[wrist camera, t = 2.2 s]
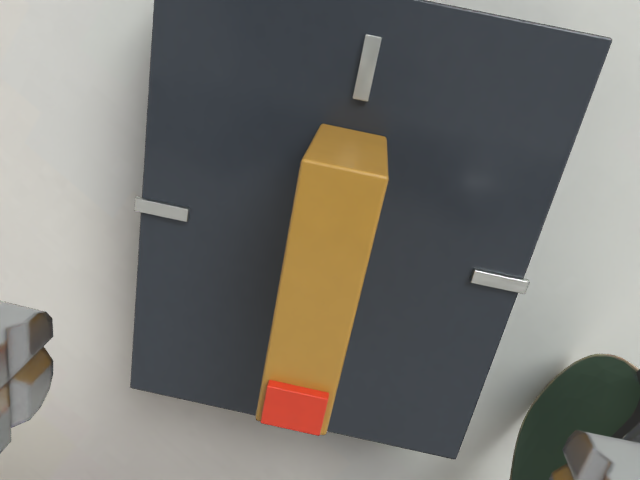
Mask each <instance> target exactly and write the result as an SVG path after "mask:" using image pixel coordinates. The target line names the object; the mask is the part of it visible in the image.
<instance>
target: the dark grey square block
mask: <svg viewBox="0 0 640 480" xmlns="http://www.w3.org/2000/svg"><path fill="white" fill-rule="evenodd" d="M611 43H612V39H611V38H609V37H604V36H599V35H594V34H589V33H584V32H579V31H574V30H570V29H565V28H560V27H555V26H550V25H545V24H540V23H535V22H530V21H525V20H520V19H515V18H510V17H505V16H500V15H495V14H490V13H485V12H481V11H476V10H471V9H466V8H461V7H456V6H451V5H446V4H441V3H436V2H431V1H426V0H154V12H153V28H152V45H151V61H150V77H149V93H148V109H147V125H146V141H145V158H144V174H143V190H142V197H136V198H135V211H138V212H141V222H140V238H139V255H138V271H137V287H136V303H135V319H134V335H133V351H132V368H131V384H130V387H131V388H134V389H138V390H143V391H147V392H152V393H156V394H161V395H165V396H170V397H174V398H179V399H183V400H188V401H192V402H197V403H202V404H206V405H211V406H215V407H220V408H224V409H229V410H233V411H238V412H242V413H247V414H251V415H256V411H257V405H258V400H259V394H260V388H261V383H262V377H263V371H264V366H265V360H266V354H267V349H268V343H269V337H270V332H271V326H272V321H273V315H274V309H275V304H276V298H277V292H278V287H279V281H280V275H281V270H282V264H283V258H284V253H285V247H286V242H287V236H288V230H289V225H290V219H291V213H292V208H293V202H294V196H295V191H296V185H297V179H298V174H299V168H300V163H301V160H302V158H303V156H304V154H305V153H306V151H307V149H308V147H309V145H310V143H311V142H312V140H313V138H314V136H315V134H316V132H317V131H318V129H319V127H320V125H321V124H327V125H332V126H337V127H342V128H346V129H351V130H356V131H361V132H366V133H370V134H375V135H380V136H384V137H386V139H387V155H388V176H389V181H388V185H387V189H386V193H385V197H384V201H383V205H382V209H381V213H380V217H379V221H378V225H377V230H376V234H375V238H374V242H373V246H372V250H371V254H370V258H369V262H368V266H367V270H366V274H365V278H364V283H363V287H362V291H361V295H360V299H359V303H358V307H357V311H356V315H355V319H354V323H353V327H352V331H351V336H350V340H349V344H348V348H347V352H346V356H345V360H344V364H343V368H342V372H341V376H340V380H339V384H338V388H337V393H336V397H335V401H334V405H333V409H332V413H331V417H330V421H329V425H328V429H327V431H328V432H333V433H337V434H342V435H346V436H351V437H355V438H360V439H365V440H369V441H374V442H378V443H383V444H387V445H392V446H396V447H401V448H405V449H410V450H414V451H419V452H423V453H428V454H432V455H437V456H441V457H446V458H451V459H456V457H457V455H458V452H459V449H460V447H461V444H462V441H463V439H464V436H465V433H466V431H467V428H468V425H469V423H470V420H471V417H472V415H473V412H474V409H475V407H476V404H477V401H478V399H479V396H480V393H481V391H482V388H483V385H484V383H485V380H486V377H487V375H488V372H489V369H490V366H491V364H492V361H493V358H494V356H495V353H496V350H497V348H498V345H499V342H500V340H501V337H502V334H503V332H504V329H505V326H506V324H507V321H508V318H509V316H510V313H511V310H512V308H513V305H514V302H515V300H516V297H517V294H518V293H522V294H525V293H526V290H527V287H528V285H529V281H528V279H523V278H524V275H525V273H526V270H527V267H528V265H529V262H530V259H531V257H532V254H533V251H534V249H535V246H536V243H537V241H538V238H539V235H540V233H541V230H542V227H543V225H544V222H545V219H546V217H547V214H548V211H549V209H550V206H551V203H552V200H553V198H554V195H555V192H556V190H557V187H558V184H559V182H560V179H561V176H562V174H563V171H564V168H565V166H566V163H567V160H568V158H569V155H570V152H571V150H572V147H573V144H574V142H575V139H576V136H577V134H578V131H579V128H580V126H581V123H582V120H583V118H584V115H585V112H586V109H587V107H588V104H589V101H590V99H591V96H592V93H593V91H594V88H595V85H596V83H597V80H598V77H599V75H600V72H601V69H602V67H603V64H604V61H605V59H606V56H607V53H608V51H609V48H610V45H611Z"/></svg>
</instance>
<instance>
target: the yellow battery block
mask: <svg viewBox="0 0 640 480" xmlns="http://www.w3.org/2000/svg"><path fill="white" fill-rule="evenodd" d="M388 181H389V176H388V155H387V139H386V137H384V136H380V135H375V134H370V133H366V132H361V131H356V130H351V129H346V128H342V127H337V126H332V125H327V124H321V125H320V127H319V129H318V131H317V132H316V134H315V136H314V138H313V140H312V142H311V143H310V145H309V147H308V149H307V151H306V153H305V154H304V156H303V158H302V160H301V163H300V168H299V174H298V179H297V185H296V191H295V196H294V202H293V208H292V213H291V219H290V225H289V230H288V236H287V242H286V247H285V253H284V258H283V264H282V270H281V275H280V281H279V287H278V292H277V298H276V304H275V309H274V315H273V321H272V326H271V332H270V337H269V343H268V349H267V354H266V360H265V366H264V371H263V377H262V383H261V388H260V394H259V400H258V405H257V411H256V420H257V421H261V423H263V424H268V425H272V426H277V427H281V428H286V429H290V430H295V431H299V432H304V433H308V434H313V435H317V436H319V435H325V434H326V433H327V429H328V425H329V421H330V417H331V413H332V409H333V405H334V401H335V397H336V393H337V388H338V384H339V380H340V376H341V372H342V368H343V364H344V360H345V356H346V352H347V348H348V344H349V340H350V336H351V331H352V327H353V323H354V319H355V315H356V311H357V307H358V303H359V299H360V295H361V291H362V287H363V283H364V278H365V274H366V270H367V266H368V262H369V258H370V254H371V250H372V246H373V242H374V238H375V234H376V230H377V225H378V221H379V217H380V213H381V209H382V205H383V201H384V197H385V193H386V189H387V185H388Z"/></svg>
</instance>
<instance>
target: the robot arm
mask: <svg viewBox="0 0 640 480" xmlns="http://www.w3.org/2000/svg"><path fill="white" fill-rule="evenodd" d="M52 337H53V325H52V318H51V317H50V315H49V314H48V313H47V312H44V311H40V310H36V309H32V308H28V307H24V306H20V305H16V304H12V303H8V302H3V301H0V453H1V452H2V451H3V450H4V449H5V448H6V447H7V445H8V444H9V443H10V442H11V428H12V427H15V426H17V425H19V424H22V423H24V422H26V421H29V420H30V419H31V418H32V417H33V416H34V414H35V413H36V412H37V411H38V410H39V408H40V407H41V406H42V404H43V402H44V399H45V397H46V395H47V393H48V391H49V389H50V385H51V381H52V376H53V360H52V358H51V357H50V355H49V354H48V352H47V351H46V349H45V348H44V345H45V344H46V343H47V342H48V341H49V340H50V339H51V338H52ZM562 450H563V453H564V456H565V458H566V461H567V463H566V464H565V465H563V466H561V467H560V468H558V469H556V470H555V471H553V472H552V473H551V476H550V478H549V480H640V443H637V442H632V441H627V440H622V439H618V438H613V437H608V436H603V435H599V434H594V433H589V432H584V431H580V430H575V431H574V432H573V433H572V434H571V435H570V436H569V437H568V439H567V441H566V443H565V445H564V447H563V449H562Z"/></svg>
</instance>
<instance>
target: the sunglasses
mask: <svg viewBox="0 0 640 480" xmlns="http://www.w3.org/2000/svg"><path fill="white" fill-rule="evenodd" d="M575 430H580V431H584V432H589V433H594V434H599V435H603V436H608V437H613V438H618V439H622V440H627V441H632V442H637V443H640V369H638V368H637V367H635V366H634V365H633V364H631V363H629V362H628V361H626V360H625V359H623V358H621V357H618V356H615V355H610V354H594V355H589V356H587V357H584V358H582V359H580V360H578V361H576V362H574V363H572V364H571V365H570V366H568V367H567V368H566V369H564V370H563V371H562V372H560V373H559V374H558V375H557V376H556V377H555V378H554V379H553V380H552V381H551V382H550V383H549V384H548V385H547V386H546V388H545V389H544V390H543V391H542V392H541V393H540V394H539V395H538V397H537V398H536V399H535V401H534V402H533V403H532V405H531V406H530V408H529V410H528V412H527V414H526V416H525V418H524V420H523V422H522V425H521V428H520V430H519V433H518V437H517V441H516V445H515V450H514V455H513V461H512V468H511V475H510V479H509V480H549V478H550V476H551V473H552V472H553V471H555V470H556V469H558V468H560V467H561V466H563V465H565V464H566V463H567V461H566V458H565V456H564V453H563V450H562V449H563V447H564V445H565V443H566V441H567V439H568V437H569V436H570V435H571V434H572V433H573V432H574V431H575Z"/></svg>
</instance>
